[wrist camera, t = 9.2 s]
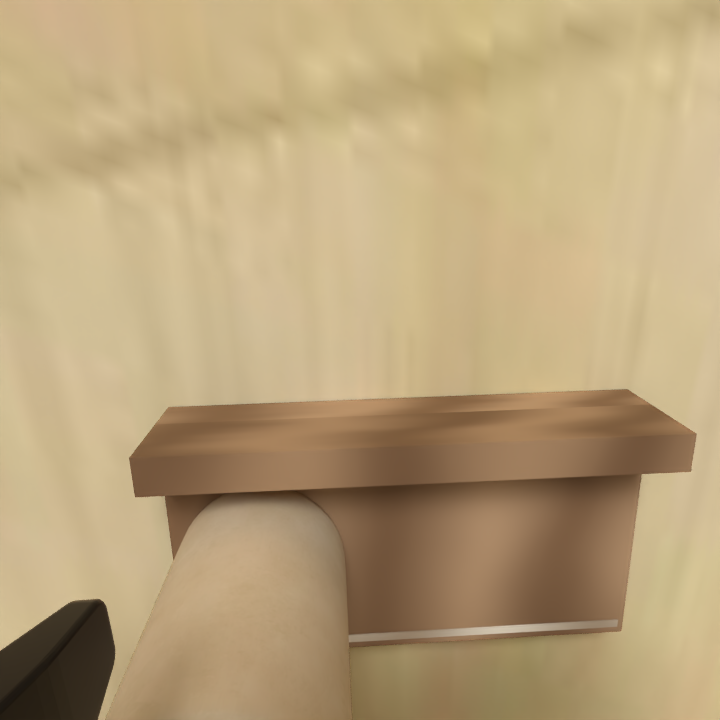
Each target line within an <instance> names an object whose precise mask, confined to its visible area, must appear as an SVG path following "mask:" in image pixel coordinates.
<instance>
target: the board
mask: <svg viewBox="0 0 720 720" xmlns="http://www.w3.org/2000/svg"><path fill="white" fill-rule="evenodd" d="M695 441H696V433H695V432H693V431H691V430H690V429H688V428H687V427H685V426H684V425H682V424H681V423H679V422H677V421H676V420H674V419H673V418H671V417H670V416H668V415H666V414H665V413H663V412H662V411H660V410H659V409H657V408H656V407H654V406H652V405H651V404H649V403H648V402H646V401H645V400H643V399H642V398H640V397H638V396H637V395H635V394H634V393H632V392H631V391H629V390H627V389H624V390H599V391H573V392H547V393H522V394H496V395H471V396H445V397H419V398H394V399H368V400H342V401H317V402H291V403H266V404H240V405H214V406H189V407H168V408H167V410H166V411H165V412H164V414H163V415H162V416H161V418H160V419H159V420H158V421H157V423H156V424H155V425H154V427H153V428H152V429H151V431H150V432H149V433H148V434H147V436H146V437H145V438H144V440H143V441H142V442H141V443H140V445H139V446H138V447H137V449H136V450H135V451H134V453H133V454H132V455H131V456H130V458H129V460H130V467H131V473H132V480H133V487H134V493H135V497H150V496H165V501H166V508H167V516H168V523H169V531H170V538H171V546H172V553H173V561H174V558H175V556H176V554H177V551H178V549H179V547H180V545H181V543H182V541H183V538H184V536H185V534H186V532H187V530H188V528H189V526H190V525H191V524H192V522H193V521H194V519H195V518H196V517H197V516H198V514H199V513H200V512H201V511H202V510H203V509H204V508H205V507H206V506H207V505H209V504H210V503H211V502H212V501H214V500H215V499H217V498H219V497H220V496H222V495H224V494H227V493H237V492H259V491H281V490H292V491H295V492H297V493H299V494H302V495H304V496H306V497H307V498H309V499H311V500H312V501H314V502H315V503H316V504H318V505H319V506H320V507H321V508H322V509H323V510H324V511H325V512H326V513H327V514H328V515H329V517H330V518H331V519H332V521H333V522H334V524H335V526H336V528H337V529H338V532H339V535H340V537H341V540H342V543H343V548H344V554H345V567H346V587H347V610H348V633H349V647H360V646H377V645H394V644H411V643H428V642H445V641H463V640H480V639H497V638H514V637H531V636H548V635H565V634H582V633H600V632H617V631H621V629H622V621H623V614H624V606H625V598H626V591H627V583H628V575H629V567H630V560H631V552H632V544H633V536H634V529H635V521H636V513H637V506H638V498H639V490H640V482H641V475H642V474H651V473H673V472H691V466H692V460H693V454H694V447H695Z"/></svg>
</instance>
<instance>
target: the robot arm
mask: <svg viewBox="0 0 720 720" xmlns="http://www.w3.org/2000/svg"><path fill="white" fill-rule="evenodd" d="M114 660H115V645H114V640H113V635H112V630H111V626H110V621H109V616H108V612H107V608H106V605H105V603H104V602H103V601H101V600H100V599H91V600H77V601H72V602H70V603H68V604H67V605H65V606H64V607H62V608H61V609H60V610H58V611H57V612H55V613H54V614H52V615H51V616H49V617H48V618H47V619H45V620H44V621H42V622H41V623H39V624H38V625H37V626H35V627H34V628H32V629H31V630H29V631H28V632H27V633H25V634H24V635H22V636H21V637H19V638H18V639H17V640H15V641H14V642H12V643H11V644H9V645H8V646H6V647H5V648H4V649H2V650H1V651H0V720H98V716H99V713H100V710H101V706H102V703H103V700H104V696H105V693H106V689H107V686H108V683H109V679H110V676H111V673H112V669H113V665H114Z"/></svg>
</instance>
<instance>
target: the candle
mask: <svg viewBox="0 0 720 720" xmlns="http://www.w3.org/2000/svg"><path fill="white" fill-rule="evenodd" d="M105 720H352V702H351V679H350V656H349V633H348V610H347V587H346V567H345V554H344V548H343V543H342V540H341V537H340V535H339V532H338V529H337V528H336V526H335V524H334V522H333V521H332V519H331V518H330V517H329V515H328V514H327V513H326V512H325V511H324V510H323V509H322V508H321V507H320V506H319V505H318V504H316V503H315V502H314V501H312V500H311V499H309V498H307V497H306V496H304V495H302V494H299V493H297V492H295V491H292V490H281V491H259V492H237V493H227V494H224V495H222V496H220V497H219V498H217V499H215V500H214V501H212V502H211V503H210V504H209V505H207V506H206V507H205V508H204V509H203V510H202V511H201V512H200V513H199V514H198V516H197V517H196V518H195V519H194V521H193V522H192V524H191V525H190V526H189V528H188V530H187V532H186V534H185V536H184V538H183V541H182V543H181V545H180V547H179V549H178V551H177V554H176V556H175V558H174V561H173V563H172V565H171V568H170V570H169V572H168V575H167V577H166V579H165V582H164V584H163V586H162V588H161V591H160V593H159V595H158V598H157V600H156V602H155V605H154V607H153V609H152V612H151V614H150V616H149V619H148V621H147V623H146V626H145V628H144V630H143V633H142V635H141V637H140V640H139V642H138V644H137V647H136V649H135V651H134V653H133V656H132V658H131V660H130V663H129V665H128V667H127V670H126V672H125V674H124V677H123V679H122V681H121V684H120V686H119V688H118V691H117V693H116V695H115V698H114V700H113V702H112V705H111V707H110V709H109V712H108V714H107V716H106V719H105Z"/></svg>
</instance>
